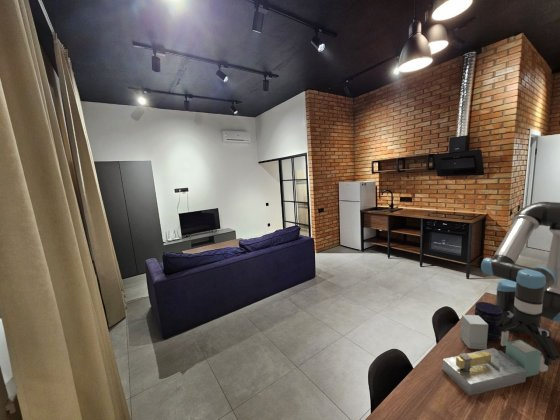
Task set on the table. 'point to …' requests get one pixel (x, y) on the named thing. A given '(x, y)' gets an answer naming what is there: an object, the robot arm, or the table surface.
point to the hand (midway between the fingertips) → (522, 356)
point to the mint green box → (524, 356)
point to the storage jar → (490, 319)
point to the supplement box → (474, 331)
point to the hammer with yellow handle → (472, 360)
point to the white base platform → (486, 373)
